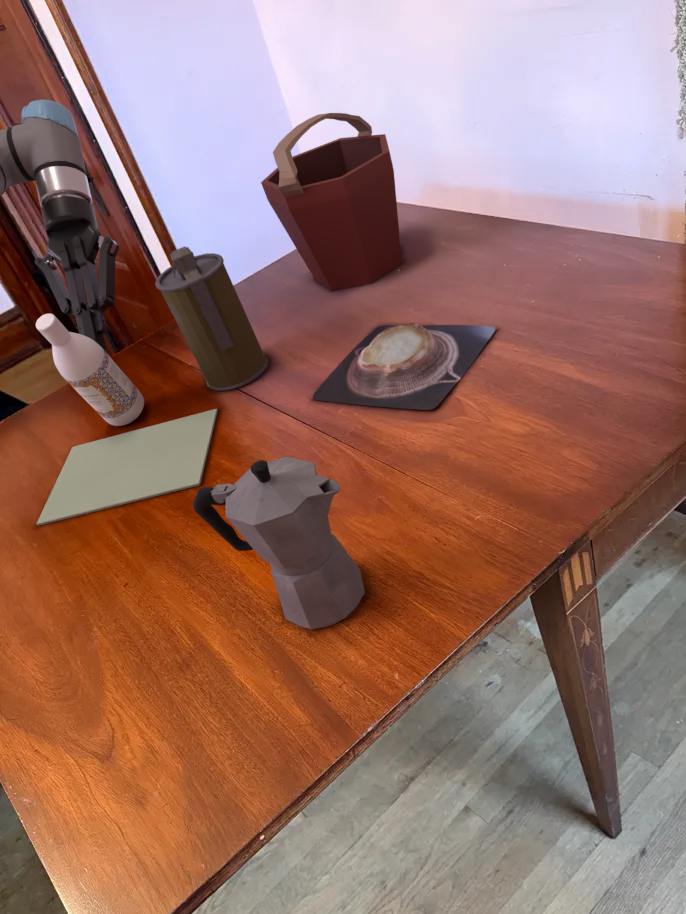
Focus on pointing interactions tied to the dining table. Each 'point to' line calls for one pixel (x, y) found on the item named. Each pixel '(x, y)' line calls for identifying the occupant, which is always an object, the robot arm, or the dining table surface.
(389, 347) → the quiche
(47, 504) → the mat
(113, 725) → the dining table surface
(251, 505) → the coffeepot
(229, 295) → the canister
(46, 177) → the robot arm
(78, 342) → the bath foam
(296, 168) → the bucket
